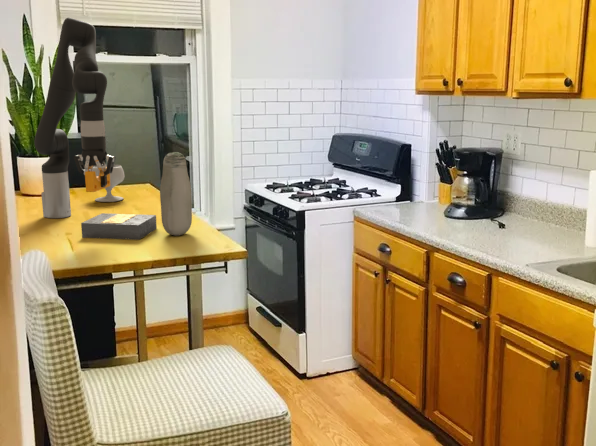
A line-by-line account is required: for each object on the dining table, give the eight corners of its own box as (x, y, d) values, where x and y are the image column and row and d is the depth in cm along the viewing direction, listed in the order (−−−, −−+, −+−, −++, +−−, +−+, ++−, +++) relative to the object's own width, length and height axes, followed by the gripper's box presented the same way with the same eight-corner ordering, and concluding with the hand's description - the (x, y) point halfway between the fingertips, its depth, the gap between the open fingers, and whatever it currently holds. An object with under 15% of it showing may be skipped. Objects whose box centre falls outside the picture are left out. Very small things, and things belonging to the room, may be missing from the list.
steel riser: (82, 237, 214) (81, 222, 213) (103, 227, 230) (102, 212, 229) (139, 239, 212) (138, 224, 211) (156, 228, 227) (155, 214, 226)
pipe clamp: (98, 185, 219) (97, 166, 217) (110, 186, 218) (109, 167, 216) (81, 191, 207) (79, 171, 206) (93, 192, 206) (92, 172, 205)
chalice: (94, 204, 272) (92, 168, 269) (91, 198, 285) (88, 164, 281) (128, 201, 277) (126, 167, 274) (123, 196, 290) (121, 163, 287)
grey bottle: (189, 238, 214) (186, 154, 208) (159, 237, 214) (155, 154, 208) (195, 231, 224) (192, 150, 218) (165, 231, 224) (162, 150, 218)
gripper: (66, 135, 206) (70, 187, 210) (108, 136, 204) (111, 189, 208) (78, 133, 214) (82, 184, 217) (118, 134, 211) (121, 185, 215)
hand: (96, 186), depth 212 cm, fingers closed on pipe clamp, 4 cm apart
